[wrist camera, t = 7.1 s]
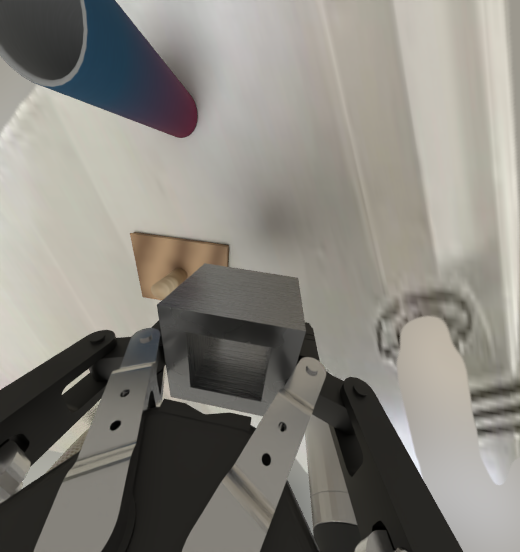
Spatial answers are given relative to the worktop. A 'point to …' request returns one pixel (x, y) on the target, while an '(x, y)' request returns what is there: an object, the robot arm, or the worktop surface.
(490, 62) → the worktop surface
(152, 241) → the post board
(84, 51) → the cup
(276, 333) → the collar
